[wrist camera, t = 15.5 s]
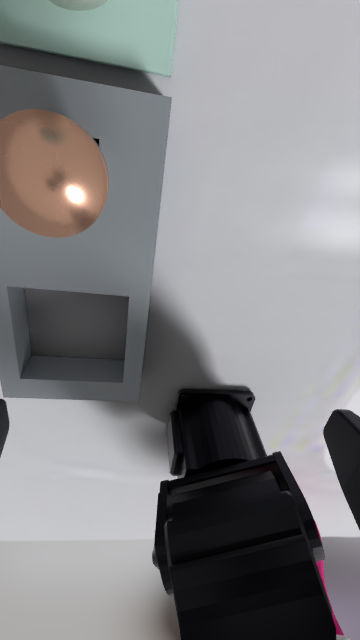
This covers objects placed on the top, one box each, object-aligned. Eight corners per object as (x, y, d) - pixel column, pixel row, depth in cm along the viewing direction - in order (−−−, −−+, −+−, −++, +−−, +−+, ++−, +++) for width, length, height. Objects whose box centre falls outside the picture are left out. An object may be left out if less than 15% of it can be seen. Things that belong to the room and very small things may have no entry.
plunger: (119, 124, 16) (109, 120, 11) (115, 213, 18) (105, 243, 13) (26, 108, 15) (-28, 97, 10) (34, 203, 17) (-7, 231, 12)
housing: (167, 102, 16) (171, 97, 13) (139, 378, 24) (138, 401, 22) (-30, 65, 14) (-61, 53, 12) (16, 372, 23) (3, 397, 21)
